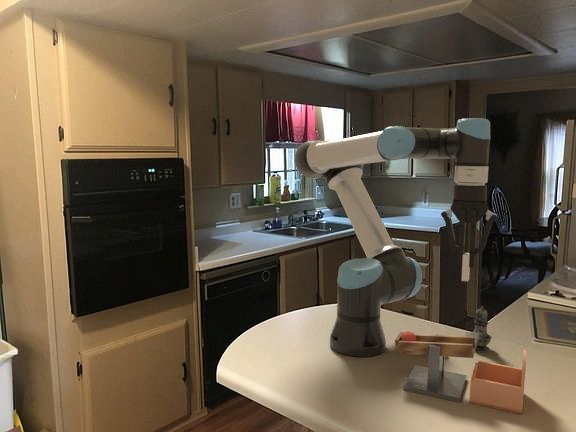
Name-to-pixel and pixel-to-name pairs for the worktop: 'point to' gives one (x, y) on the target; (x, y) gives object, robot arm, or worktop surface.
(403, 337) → the ball
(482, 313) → the grey stone statuette
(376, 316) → the robot arm
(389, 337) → the worktop surface
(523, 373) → the orange open box
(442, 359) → the lever stand
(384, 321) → the worktop surface
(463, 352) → the lever
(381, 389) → the worktop surface
